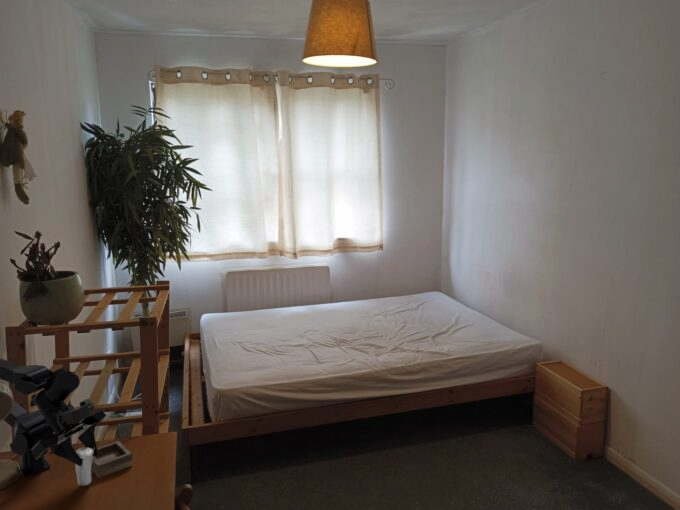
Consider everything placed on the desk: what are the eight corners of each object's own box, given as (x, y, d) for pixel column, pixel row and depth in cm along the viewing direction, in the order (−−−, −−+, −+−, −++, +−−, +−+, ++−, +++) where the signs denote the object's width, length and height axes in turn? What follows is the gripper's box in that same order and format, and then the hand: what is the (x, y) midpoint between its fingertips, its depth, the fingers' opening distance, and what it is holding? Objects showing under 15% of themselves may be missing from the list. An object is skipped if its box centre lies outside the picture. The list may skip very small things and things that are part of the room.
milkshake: (89, 489, 134) (88, 452, 132) (70, 485, 135) (69, 449, 133) (101, 478, 138) (99, 443, 136) (82, 475, 139) (81, 440, 137)
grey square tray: (86, 463, 146) (85, 451, 146) (118, 451, 153) (118, 440, 152) (98, 478, 140) (98, 466, 139) (132, 465, 146) (131, 453, 146)
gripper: (36, 409, 125) (73, 464, 123) (99, 380, 142) (133, 428, 140) (15, 432, 129) (51, 485, 127) (79, 401, 146) (111, 448, 144)
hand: (89, 460), depth 135 cm, fingers closed on milkshake, 4 cm apart
